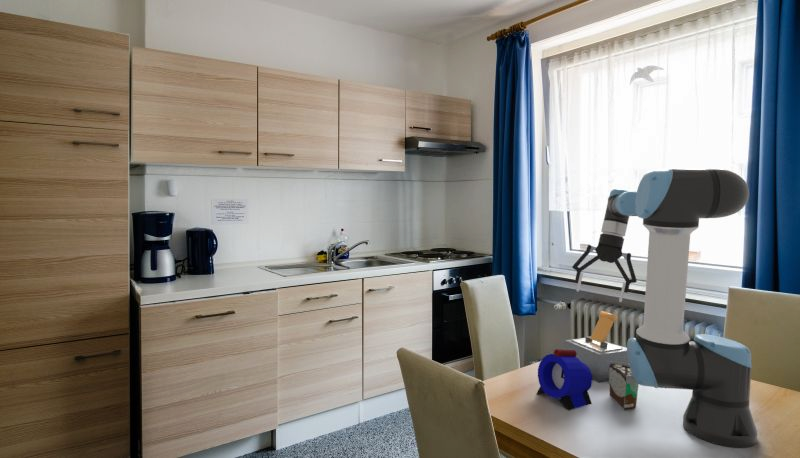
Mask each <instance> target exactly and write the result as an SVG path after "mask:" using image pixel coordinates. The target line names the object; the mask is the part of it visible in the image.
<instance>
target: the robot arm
mask: <svg viewBox="0 0 800 458" xmlns="http://www.w3.org/2000/svg"><path fill="white" fill-rule="evenodd" d="M749 198H750V188H749V186H748V183H747V182H746V181H745V179H744V178H743V177H741V176H740V175H739V174H738V173H735V172H733V171H731V170H727V169H723V168H716V167H715V168H713V167H712V168H669V167H667V168H662V169H661V168H659V169H652V170H651V169H650V170H649V171H648V172H646V173H645V174H644V175H643V176H642V177H641V179H640V182H639V183H638V187H637V190H629V189H622V188H616V189H612V190H611V191H610V192H609V196H608V197H607V205H606V207H605V214H604V218H603V220H602V221H603V222H602V227H601V229H600V230H601V234H600V235H599V239H598V243H597V246H593V245H591V244H588V245H587V247H586V249H585V251H584V252H583V254H582V255H581V256H580V257H579V258H578V259H577V260H576V262H575V263H574V264H573V265H572V266H571V267H572V269H573V270H575V272H576V275H575V278H574V279H575V282H577V286H576V292H578V293H579V292H580V288H581V284H582V279H583V276H584V273H583V272H582V271H584V270H585V269H587V268H588V267H590V266H591V265H593V264H594V263H595V262H597V261H598V260H600V261H601V262H606V263H610V264H614V265H616V267H617V269H618V271H619V272H620V274H621V276H622V278H623V279H624V281H625V282H624V281H623V282H622V285H621V286H622V287H621V291H620V296H619V299H618V300H619V301H618V302H620V303H622V302H623V297H624V293H628V292H629V289H630V288H629V287H630V285H631V284H633V283H634V284H635V283H637V281H638V280H637V278H636V273H635V269H634V268H633V264H632V260H631V259H632V254H631V253H630V252H628V253H627V252H623V246H624V241H625V238H624V237H625V236H626V232H627V228H628V224H629V219H630V217H638V218H640V219H642V225H643V227H645V229H647V230H648V233H649V234H648V235H649V236H648V248H647V249H648V250H647V261H646V262H647V265H646V279H645V280H646V281H645V296H644V312H643V324H642V325H640V327H638V328H637V329H636V330H635V331H636V332H635V337H629V338H628V340H627V342H626V349H627V355H628V361H629V366H630V369H631V372H632V375H633V377H634V379H635V381H636V382H637V383H638V384H639V385H640V386H642V387H651V388H655V389H659V388H660V389H677V390H690V391H691V390H692V393H691V397H690V400H689V401H688V404H687V406H686V408H685V411H684V413H683V416H682V425H683V428H684V429H685V430H686V431H687V432H688V433H689V434H691V435H693V436H694V437H697V438H699V439H701V440H704V441H706V442H709V443H713V444H716V445H719V446H723V447H724V446H725V447H729V448H730V447H732V448H747V447H752V446H754V445H756V444H757V442H758V430H757V427H756V424H755V421H754V418H753V414H752V412H751V408H750V398H751V379H752V368H753V365H752V364H753V363H752V352H751V349H749V348H748V346H746V345H744V344H743V343H740V342H738V341H735V340H733V339H730V338H727V337H726V338H725V337H722V336H717V335H712V334H707V333H706V334H705V333H700V334H695V336H694V337H693V341H692V340H691V338H690V336H689V334H687V333H686V332H685V331H684V321H685V308H686V295H687V294H686V293H687V282H688V281H687V280H688V271H689V270H688V269H689V256H690V255H689V254H690V244H691V242H690V241H691V234H692V233H693V232H694V231H696V230H697V229H698V228H699V224H700V223H699V222H700V219H718V218H726V217H729V216H732V215H735V214H736V213H737V214H738V212H740V211H741V210H743V208H745V206H746V204H748V201H749ZM593 251H595V253H596V255H595V256H594V257H593V258H591V259H590V260H588V261H587V262H586V263H584V264H582V262H583V261H584V260H585V259H586V257H588V256H589V254H590V253H593ZM621 257H623V259H624V260H626V263H627V267H628V271H629V274H630V278H631V279H630V278H629V276H628V274H627V273H626V271H625V269H624V268H623V266H622V264H621V263H620V261H619V259H620V258H621ZM580 264H582V265H581V266H580ZM579 266H580V267H579ZM690 340H691V341H690Z"/></svg>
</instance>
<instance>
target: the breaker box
mask: <svg viewBox="0 0 800 458" xmlns="http://www.w3.org/2000/svg"><path fill="white" fill-rule="evenodd" d="M590 337H591V335H590V336H585V337H581V338H580V337H579V338H573V339H565V340H564V350H575V351H576V353H577V355H576V357H577V358H578V359H579V360H580V361H581V362H583V363H584V364H586V365H587V366H588V367H589V369H590V371H591V374H592V381H594V382H596V383H598V384H601V383H605V382H609V368H608V365H609V361H613V362H621V363H626V364H629V361H628V355H627V348H625V347H622V346H620V345H616V344H613V343H612V342H608V341H606V340H605V342H601V343H599V342H596V341H594V340H592V339H590Z"/></svg>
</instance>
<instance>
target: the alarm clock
mask: <svg viewBox="0 0 800 458" xmlns="http://www.w3.org/2000/svg"><path fill="white" fill-rule="evenodd" d="M576 355H577V353H576V351H575V350H565V349H555V350H553V353H550V354H546V355H544V357H542V359H541V360H540V361H539V364H538V368H537V379H538V380H537V381H538V383H539V387H538V390H537V392H536V395H546V396H548V397H549V398H552V399H558V401H559V403H561V404H562V405H563V407H565V409H566V410H567V411H571V410H574V409H578V408H582V407H584V406H585V407H586V406H589V405H592V404H593V403H592V400H591V397H590V395H589V390H590V389H591V388H592V384H593V380H592V374H591V371H590V369H589V367H588V366H587V365H586V364H584V363H583V362H581V361H580V360H579V359H578V358H577V357H576Z"/></svg>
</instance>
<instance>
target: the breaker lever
mask: <svg viewBox="0 0 800 458" xmlns="http://www.w3.org/2000/svg"><path fill="white" fill-rule="evenodd" d="M617 320H618V316H617V315H616V314H614V313H610V312H607V311H605V310H604V311H603V310H602V311H600V313H599V319H598V320H597V322H596V325H595V327H594V329H593V332H592V333H591V335H590V336H591V337H590V339H592V340H594V341H596V342H599V343H601V342H605V341H606V340H607V337H608V335H609V333H610V331H611V328H612V327H613V325H614V322H617Z"/></svg>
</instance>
